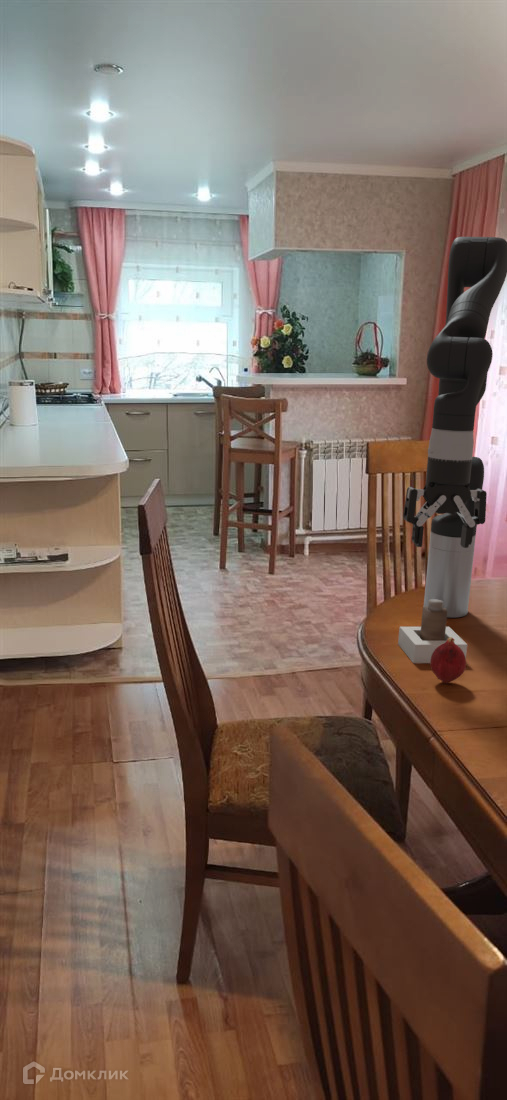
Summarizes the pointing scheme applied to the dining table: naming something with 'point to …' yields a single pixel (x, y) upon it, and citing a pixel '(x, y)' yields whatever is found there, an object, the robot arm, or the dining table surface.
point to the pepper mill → (433, 621)
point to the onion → (448, 661)
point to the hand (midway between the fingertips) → (441, 546)
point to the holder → (424, 644)
